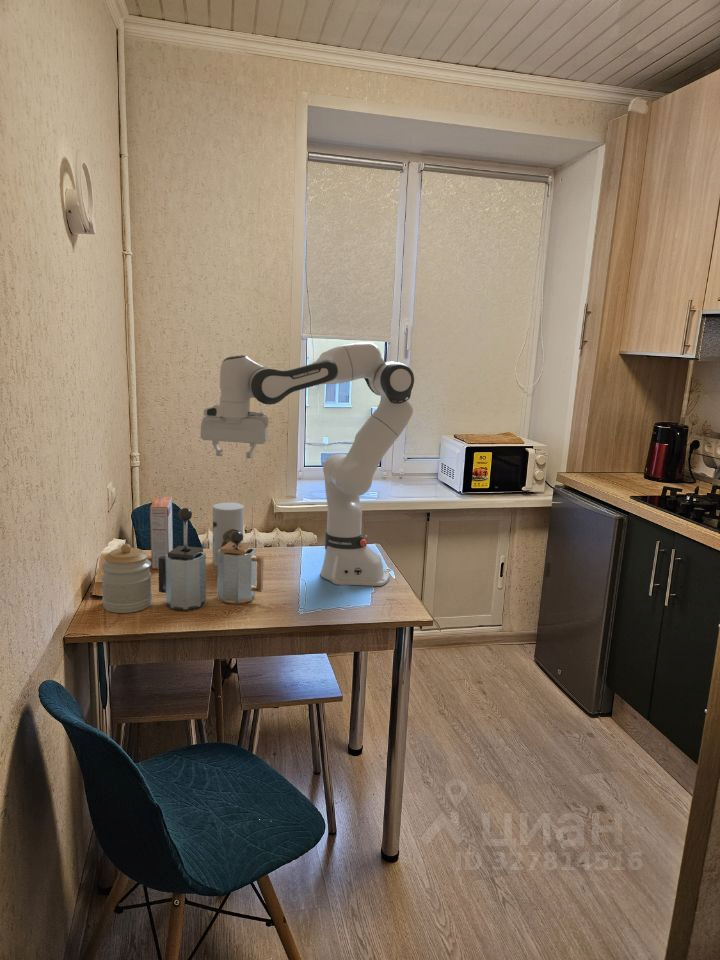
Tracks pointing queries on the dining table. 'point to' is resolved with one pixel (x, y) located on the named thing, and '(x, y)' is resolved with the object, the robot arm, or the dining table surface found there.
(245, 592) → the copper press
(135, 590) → the jar
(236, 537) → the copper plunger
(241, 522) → the container
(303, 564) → the dining table surface
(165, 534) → the cracker box
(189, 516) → the black plunger
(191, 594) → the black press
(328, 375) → the robot arm
